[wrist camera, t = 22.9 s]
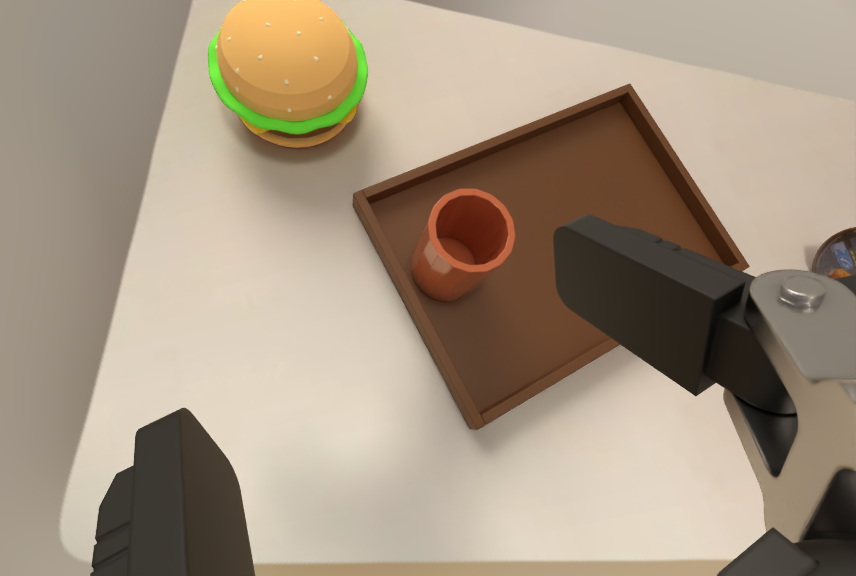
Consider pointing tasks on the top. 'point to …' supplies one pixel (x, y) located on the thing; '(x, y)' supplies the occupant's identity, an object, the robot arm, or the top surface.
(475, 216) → the reddish brown cup
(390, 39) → the top surface
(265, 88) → the hamburger
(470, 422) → the tray
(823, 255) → the tin
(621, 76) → the top surface
